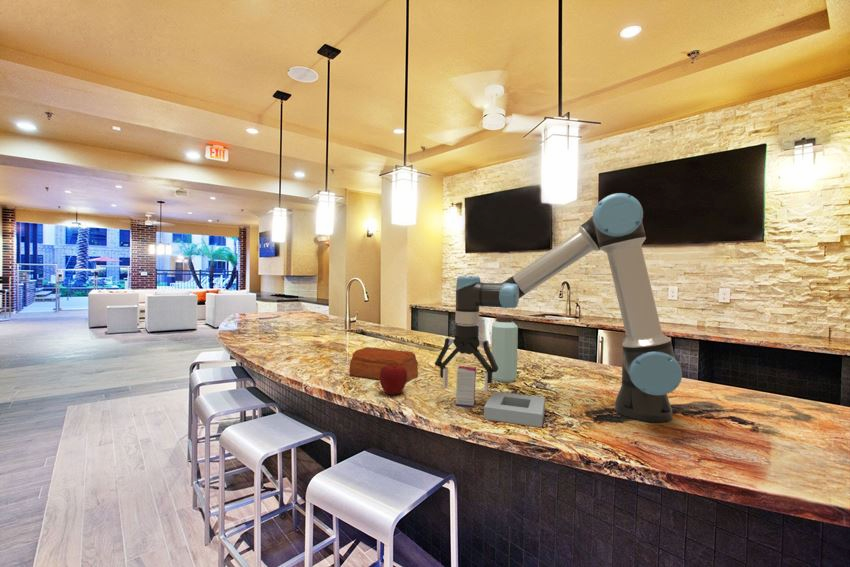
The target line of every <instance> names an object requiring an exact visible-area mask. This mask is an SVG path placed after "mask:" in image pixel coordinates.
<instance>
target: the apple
mask: <svg viewBox="0 0 850 567" xmlns="http://www.w3.org/2000/svg"><path fill="white" fill-rule="evenodd" d="M406 381H407V371H406V369H405V368H404V367H403V366H401V365H396V364H395V365H394V364H391V365H385V366H384V367H382V369H381V371H380V380H379V382H380V386H381V388H382V390H383V391H384V392H385V393H386V394H387V395H390V396H391V395H392V396H393V395H399V394H400V393H401V392H403V390H404V388H405V387H406V384H407V382H406Z"/></svg>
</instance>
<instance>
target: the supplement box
mask: <svg viewBox="0 0 850 567" xmlns="http://www.w3.org/2000/svg"><path fill="white" fill-rule="evenodd" d="M476 376H477V367H475V366H474V367H473V366H461V365H458V367H457V369H456V388H455V390H456V391H455V392H456V394H455V406H457V407H464V408H466V407H467V408H474V407H475V403H476V402H475V401H476V379H477V377H476Z"/></svg>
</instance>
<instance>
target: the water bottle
mask: <svg viewBox="0 0 850 567" xmlns="http://www.w3.org/2000/svg"><path fill="white" fill-rule="evenodd" d="M495 318H496V319H495V320H496V321H495V322H494V323H493V324H492V326H491V353H492V355H493V357H494V359H495V362H496V364H497V366H498V370H497V372H493V373H492V380H494V381H495V382H500V383H512V382H515V380H516V379H517V378H518V342H519V341H518V340H519V338H518V333H519V331H518V330H519V328H518V325H517V324H516V323H515V321H514V318H515V317H514V316H512V315H510V316H509V315H497V316H495ZM491 368H492V367H491Z"/></svg>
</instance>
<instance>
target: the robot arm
mask: <svg viewBox="0 0 850 567" xmlns="http://www.w3.org/2000/svg"><path fill="white" fill-rule="evenodd" d="M643 209H644V208H643V206H642V204H641V203H640V201H639V200H638V199H637V198H635V196H633V195H631V194H628V193H625V192H624V193H623V192H619V193H618V192H616V193H612V194H609V195H607V196H604V198H602V199H601V200H600V201H599V202H598V203H597V204H595V207H594V210H593V211H592V216H591V217H590V218H588V220H586V221H585V222H584V223H582V224H581V225H579V228H578V230H577V231H576V232H574V233H573V234H572V235H570V236H569V237H568V238H566V239H565V240H563V241H562V242H561V243H559V244H557V245H556V246H554V247H553V248H552V249H550V250H548V251H547V252H546V253H544V254H543V255H541V256H540V257H538V258H536V259H535V260H533V261H532V262H531V263H530V264H529V263H528V265H527V266H525V267H523V268H522V269H520V270H519V271H518V272H516V273H515V274H514V275H512V276H510V277H508V279H506V280H504V281H503V282H482V281H481V278H480V276H474V275H472V276H471V275H463V276H462V275H459V276H458V277H457V278H456V285H455V317H454V322H455V323H456V324H455V326H454V338H451V337H449V336H448V337H446V338H445V340H444V345H443V348H442V349H441V351H440V353H439V354H438V356H437V358H436V361H435V362H434V365H435V366H437V367H439V370H440V372H439V377H440V378H441V379H442V389H443V390H446V389H447V388H448V382H449V381H448V377H449V376H448V375H449V374H448V372H449V370H448V369H449V367H447V365H448V364H449V363H450V362H451V361H452V360H453V358H454V357H456V355H457V354H458V353H460V354H463V355H464V354H467V355H471V354H472V355H473V356H474V357H475V358H476V359H477V360H478V362H479V363H480V364H481V366H482V367H483V369H484V370H485V373H484V395H488V393H489V388H490V387H489V386H490V384H492V382H493V378H492V373H493V372H497V370H498V366H497V364H496V362H495V359H494V357H493V355H492V350H491V349H490V342H489V340H487V339H486V340H482V341H481V340H479V338H480V337H479V333H480V330H479V329H480V328H479V327H480V326H479V325H478V324H479V323H480V307H487V308H503V309H515V308H517V307H518V304H519V301H520V299H521V298H522V297H524V296H525V295H527V294H528V293H530V292H531V291H533V290H534V289H536V288H537V287H538V286H540V285H542V284H544V283H545V282H546V281H548V280H550V279H551V278H553V277H555V276H556V275H558V274H559V273H560V272H562V271H563V270H565V269H567V268H568V267H570V266H571V265H573V264H574V263H575V262H577V261H579V260H580V259H582V258H583V257H585V256H587V255H588V254H590V253H591V252H593V251H598V252H599V251H603V252H604V253H606V256H607V260H608V264H609V268H610V272H611V276H612V281H613V285H614V289H615V293H616V298H617V302H618V307H619V310H620V315H621V319H622V323H623V327H624V328H623V329H624V332H625V335H626V336H625V337H624V338H623V340H622V344H621V348H622V358H621V359H622V360H621V361H622V364H621V365H622V368H621V369H622V370H621V387H620V388H619V390H618V394H617V396H616V399H615V402H614V411H615V412H616V413H618V414H620V415H621V416H624V417H626V418H629V419H632V420H636V421H641V422H648V423H649V422H650V423H667V422H670V421H671V420H672V419H673V408H672V406H671V402H670V400H669V397H668V394H670V393H672V392H674V391H675V390H676V389H677V388H678V387H679V385H680V384H681V382H682V377H683V372H682V367H681V365H680V363H679V361H678V360H677V359H676V356H675V352H674V347H673V343H672V340H671V338H670V337H668V336H667V335H665V334H664V333H663V331H662V330H663V329H662V326H661V323H660V318H659V314H658V310H657V306H656V301H655V297H654V292H653V289H652V286H651V280H650V277H649V276H650V275H649V273H648V268H647V264H646V260H645V257H644V252H643V248H642V245H643V243H644V242H645V240H646V239H647V235H646V231H645V229H644V224H643V218H644V210H643ZM451 345H454V347H455V348H454V349H453V350H452V352H451V353H450V354H449V355H447V358H446V359H445V360H444V357H445V355H446V354H447V352H448V350H449V348H450V346H451ZM479 346H481V348H482V349H483V350H484V353H485V355H486V357H487V359H488V361H487V359H485V357H484V356H483V354H482V353H481V351H480V350H479V349H478V348H479ZM443 360H444V361H443ZM442 361H443V362H442ZM491 367H492V368H491ZM666 421H667V422H666Z"/></svg>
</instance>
